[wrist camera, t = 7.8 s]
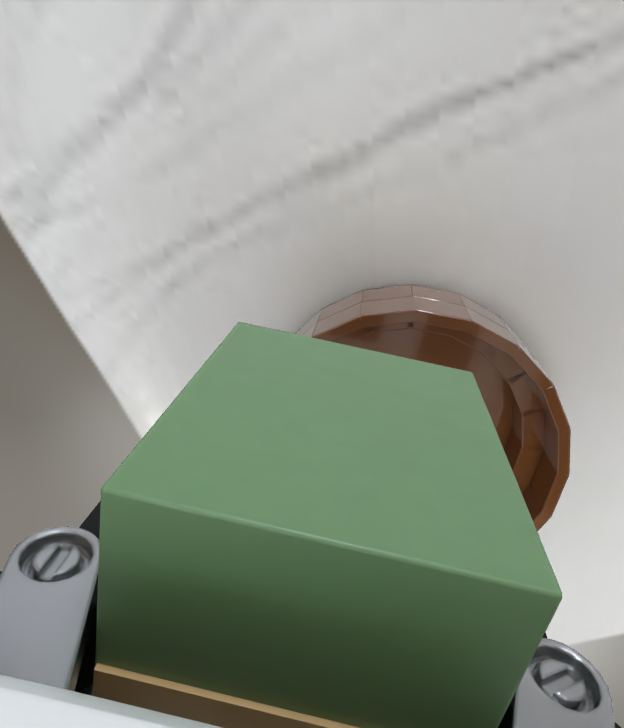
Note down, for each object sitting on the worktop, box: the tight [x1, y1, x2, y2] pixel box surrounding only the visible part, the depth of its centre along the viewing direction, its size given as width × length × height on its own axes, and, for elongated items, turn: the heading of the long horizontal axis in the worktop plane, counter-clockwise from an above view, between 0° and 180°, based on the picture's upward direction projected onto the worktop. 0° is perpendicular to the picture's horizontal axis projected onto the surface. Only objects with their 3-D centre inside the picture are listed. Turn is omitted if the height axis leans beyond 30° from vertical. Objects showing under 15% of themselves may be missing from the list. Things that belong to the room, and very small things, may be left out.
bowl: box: [295, 285, 571, 532], centre depth 30 cm, size 16×16×6 cm
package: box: [93, 322, 562, 728], centre depth 10 cm, size 5×7×6 cm
